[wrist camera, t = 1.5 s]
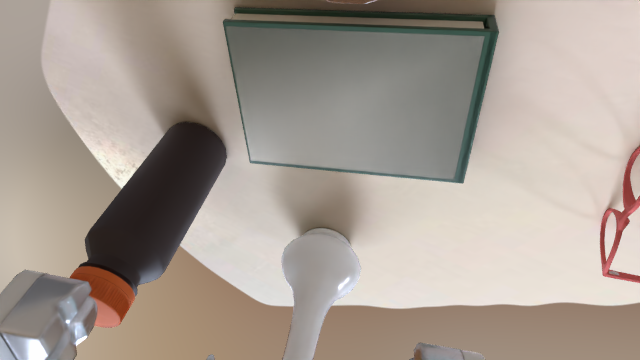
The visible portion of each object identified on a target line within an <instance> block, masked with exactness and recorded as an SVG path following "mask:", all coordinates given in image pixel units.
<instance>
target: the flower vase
mask: <svg viewBox="0 0 640 360" xmlns="http://www.w3.org/2000/svg"><path fill="white" fill-rule="evenodd" d="M281 263H282V272H283V275H284V277H285V279H286V281H287V283H288V285H289V286H290V287H291V289H292V291H293V297H294V311H293V317H292V322H291V326H290V331H289V335H288V339H287V344H286V348H285V351H284V355H283V358H282V360H313V359H314V354H315V350H316V346H317V342H318V338H319V335H320V331H321V328H322V324H323V321H324V318H325V316H326V313H327V311H328V310H329V308H330V307H331V305H332V304H333V303H334V302H335V301H336V300H338V299H340V298H342V297H343V296H345V295H346V294H348V293H349V292H350V291H351V290H352V289H353V288H354V286H355V285H356V283H357V282H358V280H359V277H360V272H361V266H360V262H359V259H358V257H357V255H356V254H355V252H354V251H353V249H352V248H351V247H350V243H349V242H348V240H347V239H346V238H345V237H344V236H343V235H342V234H340V233H338V232H336V231H334V230H331V229H326V228H316V229H311V230H309V231H307V232H306V233H305V234H304V235H302V236H300V237H298V238H296V239H294V240H293V241H291V242H290V243H289V244H288V245H287V246H286V248H285V249H284V252H283V255H282V259H281ZM207 360H215V358H214V355H212V354H211V355H209V356H208V358H207Z"/></svg>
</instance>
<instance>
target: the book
mask: <svg viewBox="0 0 640 360" xmlns="http://www.w3.org/2000/svg"><path fill="white" fill-rule="evenodd" d="M234 13H235V15H234V16H233V17H232V18H231V19H225V20H224V21H223V25H224V30H225V36H226V41H227V46H228V51H229V56H230V62H231V67H232V72H233V77H234V82H235V87H236V93H237V98H238V103H239V108H240V113H241V119H242V124H243V129H244V134H245V139H246V145H247V150H248V155H249V160H250V163H255V164H265V165H276V166H286V167H297V168H307V169H318V170H328V171H338V172H349V173H359V174H370V175H380V176H391V177H401V178H411V179H422V180H432V181H443V182H453V183H464V178H465V174H466V170H467V166H468V161H469V157H470V153H471V149H472V144H473V140H474V136H475V132H476V127H477V123H478V119H479V115H480V110H481V106H482V102H483V97H484V93H485V89H486V85H487V80H488V76H489V72H490V68H491V63H492V59H493V55H494V51H495V46H496V42H497V38H498V33H499V31H498V27H497V23H496V19H495V16H494V15H469V14H437V13H404V12H372V11H339V10H306V9H274V8H241V7H236V8H235V9H234Z"/></svg>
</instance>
